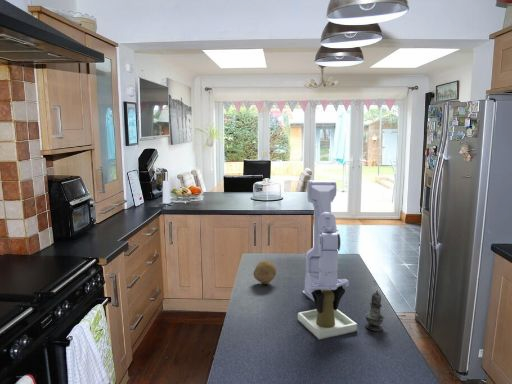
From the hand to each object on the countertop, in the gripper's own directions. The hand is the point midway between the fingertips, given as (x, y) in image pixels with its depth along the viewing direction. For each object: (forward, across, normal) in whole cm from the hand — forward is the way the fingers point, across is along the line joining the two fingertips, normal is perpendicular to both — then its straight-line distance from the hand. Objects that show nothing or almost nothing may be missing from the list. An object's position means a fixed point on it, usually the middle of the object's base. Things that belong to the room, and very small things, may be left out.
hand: (326, 310), depth 128 cm
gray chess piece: (+5, +13, -7) cm, 16 cm away
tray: (+5, 0, 0) cm, 5 cm away
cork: (+5, 0, +1) cm, 5 cm away
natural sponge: (+5, -5, +38) cm, 39 cm away
